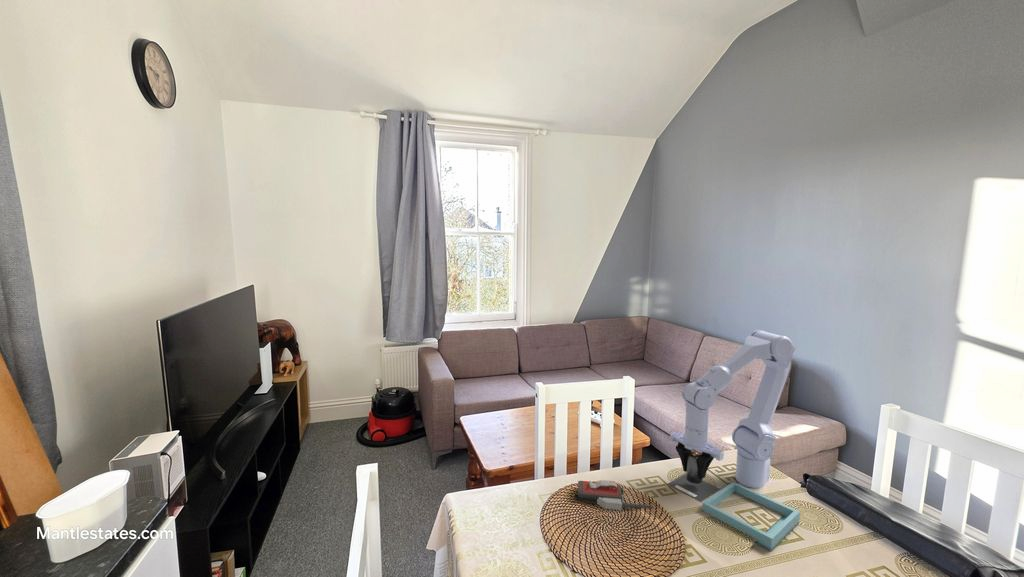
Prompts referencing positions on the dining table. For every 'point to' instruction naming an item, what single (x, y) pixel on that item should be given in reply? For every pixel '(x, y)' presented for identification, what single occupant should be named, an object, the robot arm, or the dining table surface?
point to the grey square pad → (693, 488)
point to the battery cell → (693, 468)
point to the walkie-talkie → (604, 495)
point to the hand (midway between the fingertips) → (694, 473)
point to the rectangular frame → (763, 538)
